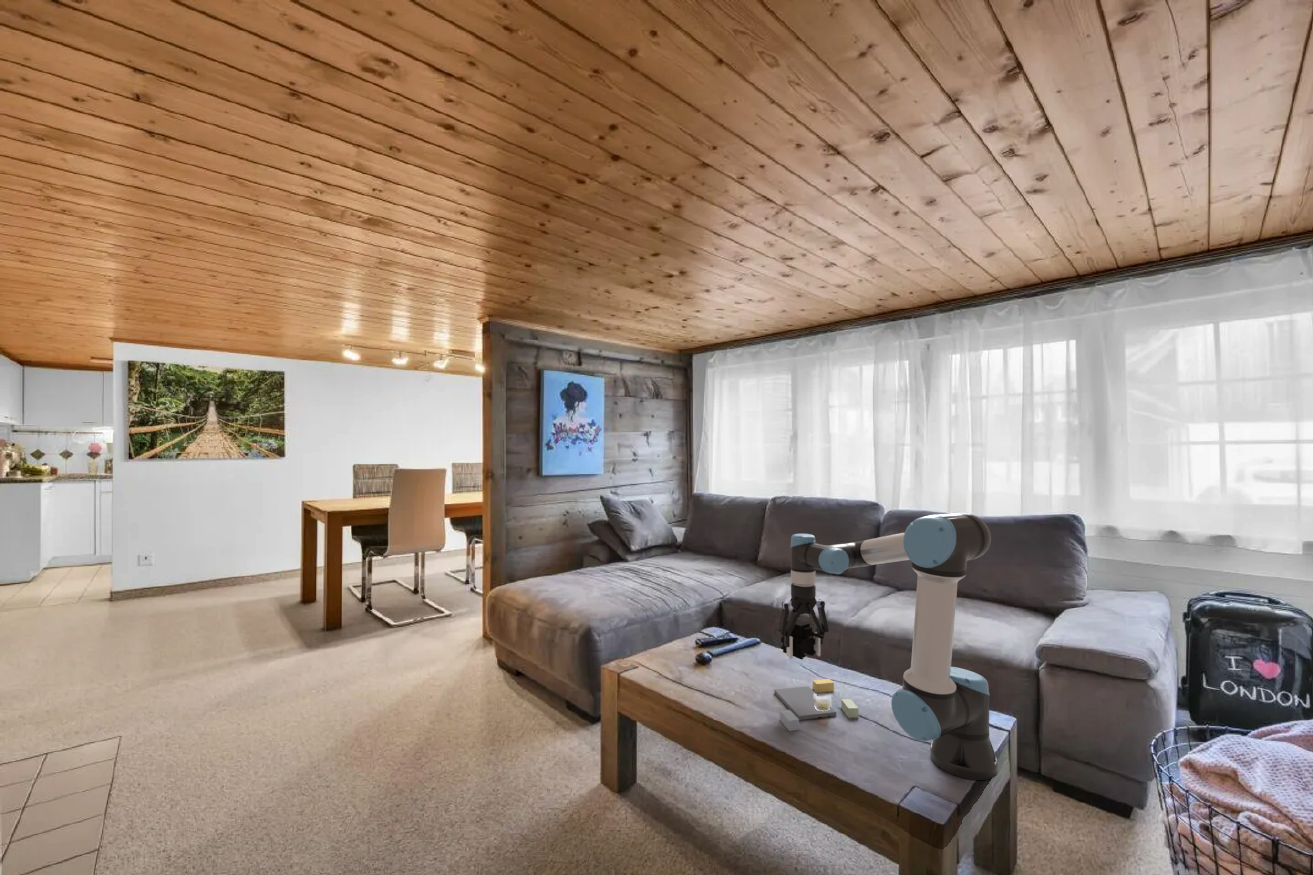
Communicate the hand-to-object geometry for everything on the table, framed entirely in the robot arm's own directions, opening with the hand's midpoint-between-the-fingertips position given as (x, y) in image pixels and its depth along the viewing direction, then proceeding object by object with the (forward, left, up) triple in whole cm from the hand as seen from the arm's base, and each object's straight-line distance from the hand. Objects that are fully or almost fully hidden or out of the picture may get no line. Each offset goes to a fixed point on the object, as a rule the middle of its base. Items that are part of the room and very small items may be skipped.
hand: (803, 655), depth 174 cm
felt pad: (0, 0, -15) cm, 15 cm away
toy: (0, 0, 0) cm, 1 cm away
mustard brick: (+8, -11, -15) cm, 20 cm away
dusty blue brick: (-11, +10, -15) cm, 21 cm away
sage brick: (-8, -11, -15) cm, 20 cm away
